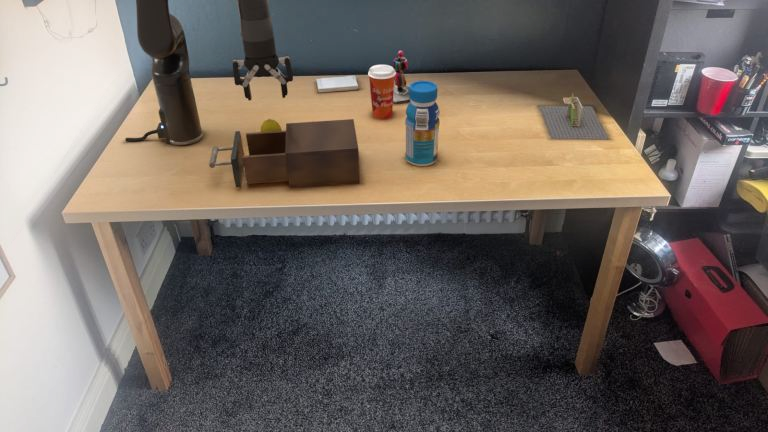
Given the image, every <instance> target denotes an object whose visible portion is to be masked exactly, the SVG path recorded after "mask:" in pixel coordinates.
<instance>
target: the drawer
mask: <svg viewBox="0 0 768 432" xmlns="http://www.w3.org/2000/svg"><path fill="white" fill-rule="evenodd" d="M245 139H246V144H247V151H248V155H245V151H244V144H243V138H242V133H241V130H236V131H235V132H234V138H233V142H232V146H229V147H228V146H226V147H218V146H216V145H215V146H213V147H212V150H211V154H210V157H209V158H210V159H209V162H208V167H209V168H211V169H214V168H215V167H217V166H231V169H232V175H233V180H234V187H235V188H236V189H239V188H242V184H243V177H244V176H245V179H246V180H245V181H246V184H247V185H252V184H266V183H279V182H281V183H282V182H289V179H288V171H287V163H286V155H285V146H286V130H282V131H271V132H260V131H257V132H246V133H245ZM225 151H226V152H227V151H231V153H230V161H217V159H218V154H219V152H225ZM244 174H245V175H244Z"/></svg>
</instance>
